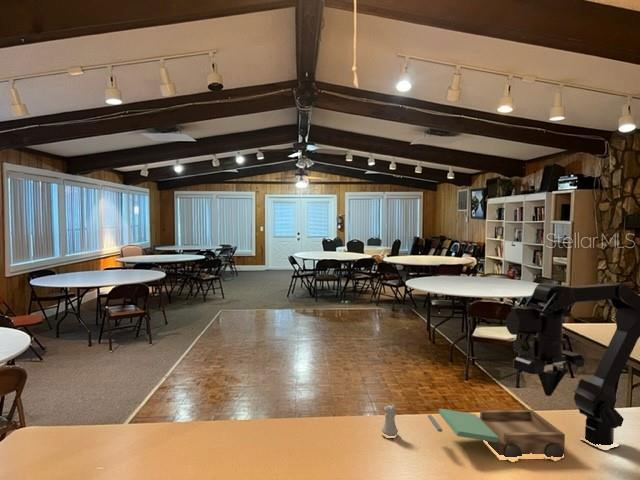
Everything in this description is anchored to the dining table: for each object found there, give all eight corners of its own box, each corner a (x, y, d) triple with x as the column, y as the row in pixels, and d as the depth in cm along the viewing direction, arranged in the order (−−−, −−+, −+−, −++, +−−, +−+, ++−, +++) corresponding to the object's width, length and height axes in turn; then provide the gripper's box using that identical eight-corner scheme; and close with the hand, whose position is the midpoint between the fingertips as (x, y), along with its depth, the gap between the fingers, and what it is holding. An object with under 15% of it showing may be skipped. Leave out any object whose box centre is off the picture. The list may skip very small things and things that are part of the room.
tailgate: (475, 414, 113) (426, 406, 112) (498, 437, 100) (443, 428, 99) (474, 420, 113) (424, 412, 112) (497, 444, 100) (441, 436, 99)
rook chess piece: (385, 440, 109) (385, 409, 109) (378, 432, 113) (378, 403, 113) (401, 438, 110) (401, 408, 110) (393, 430, 114) (394, 401, 114)
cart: (529, 430, 116) (529, 408, 116) (567, 461, 100) (567, 436, 100) (472, 430, 115) (472, 408, 115) (501, 462, 99) (501, 437, 99)
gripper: (546, 324, 117) (545, 380, 118) (496, 330, 110) (495, 389, 110) (586, 333, 107) (584, 394, 107) (533, 340, 100) (532, 405, 100)
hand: (548, 395), depth 106 cm, fingers closed
